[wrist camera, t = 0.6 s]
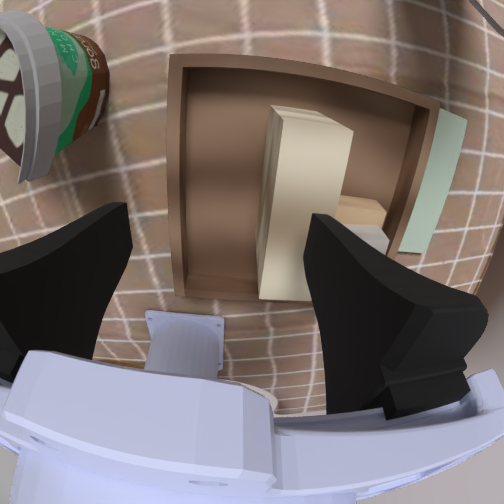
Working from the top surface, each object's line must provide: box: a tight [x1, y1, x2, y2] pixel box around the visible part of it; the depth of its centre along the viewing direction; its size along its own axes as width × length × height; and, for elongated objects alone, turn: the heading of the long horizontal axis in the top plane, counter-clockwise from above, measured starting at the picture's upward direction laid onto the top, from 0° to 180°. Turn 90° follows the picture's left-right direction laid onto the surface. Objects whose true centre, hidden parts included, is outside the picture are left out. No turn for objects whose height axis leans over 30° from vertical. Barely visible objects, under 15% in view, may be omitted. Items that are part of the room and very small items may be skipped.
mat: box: [398, 108, 468, 253], centre depth 20 cm, size 13×5×1 cm, turn 175°
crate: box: [166, 54, 441, 304], centre depth 19 cm, size 18×17×3 cm
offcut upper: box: [343, 224, 389, 255], centre depth 20 cm, size 6×4×2 cm, turn 179°
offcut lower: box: [334, 195, 387, 228], centre depth 21 cm, size 8×4×2 cm, turn 175°
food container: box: [0, 10, 109, 184], centre depth 10 cm, size 12×6×10 cm, turn 46°
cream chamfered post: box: [255, 105, 354, 301], centre depth 16 cm, size 10×3×7 cm, turn 175°
